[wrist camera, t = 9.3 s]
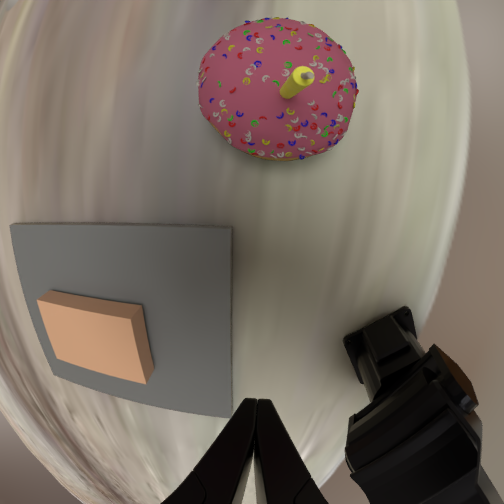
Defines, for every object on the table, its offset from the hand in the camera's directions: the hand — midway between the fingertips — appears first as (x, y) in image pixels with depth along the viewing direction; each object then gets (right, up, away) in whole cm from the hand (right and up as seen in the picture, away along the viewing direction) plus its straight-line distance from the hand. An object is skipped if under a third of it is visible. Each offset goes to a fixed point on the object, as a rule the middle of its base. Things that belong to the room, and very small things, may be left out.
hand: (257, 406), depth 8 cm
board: (-14, -2, +15) cm, 21 cm away
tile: (-9, -3, +13) cm, 16 cm away
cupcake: (+1, +15, +9) cm, 18 cm away
